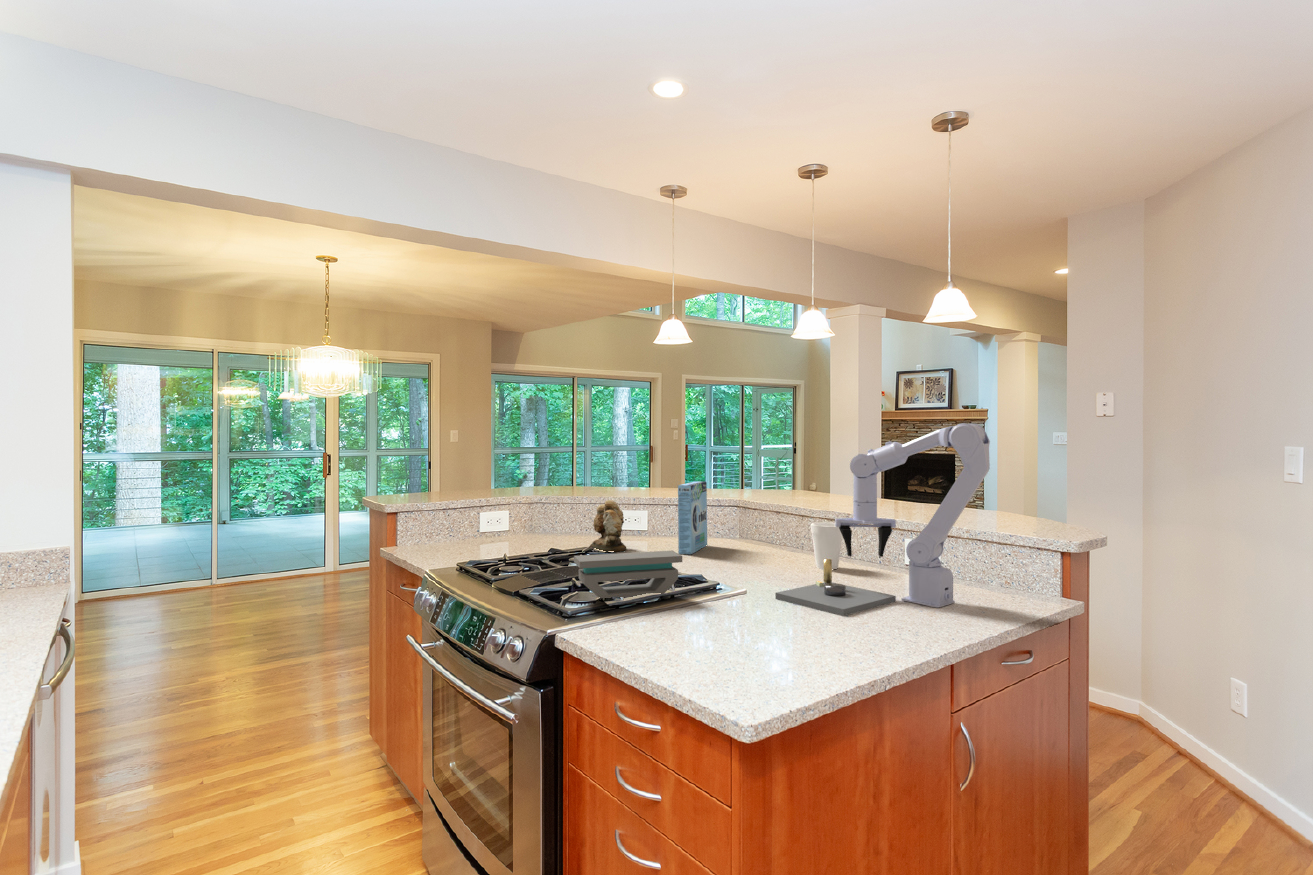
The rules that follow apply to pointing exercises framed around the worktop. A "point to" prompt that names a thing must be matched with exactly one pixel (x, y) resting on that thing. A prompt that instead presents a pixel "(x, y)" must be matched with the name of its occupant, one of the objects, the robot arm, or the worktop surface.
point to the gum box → (692, 517)
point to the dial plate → (835, 599)
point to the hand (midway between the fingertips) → (865, 555)
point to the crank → (829, 587)
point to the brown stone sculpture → (609, 527)
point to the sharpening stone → (628, 572)
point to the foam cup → (826, 543)
